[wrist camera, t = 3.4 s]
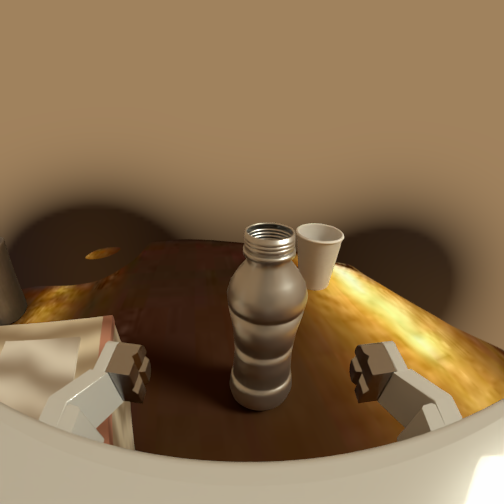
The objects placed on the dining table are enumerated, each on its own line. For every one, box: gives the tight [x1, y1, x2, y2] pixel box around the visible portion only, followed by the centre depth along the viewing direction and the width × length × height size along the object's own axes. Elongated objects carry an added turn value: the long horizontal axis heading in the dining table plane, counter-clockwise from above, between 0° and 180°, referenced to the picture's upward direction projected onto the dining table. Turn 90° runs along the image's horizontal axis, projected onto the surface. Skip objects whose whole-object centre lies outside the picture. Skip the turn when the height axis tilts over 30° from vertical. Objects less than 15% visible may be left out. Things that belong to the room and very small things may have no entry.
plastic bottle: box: [227, 223, 308, 411], centre depth 25 cm, size 6×7×20 cm
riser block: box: [0, 315, 135, 450], centre depth 20 cm, size 18×18×8 cm
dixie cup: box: [296, 223, 344, 290], centre depth 49 cm, size 8×8×10 cm
